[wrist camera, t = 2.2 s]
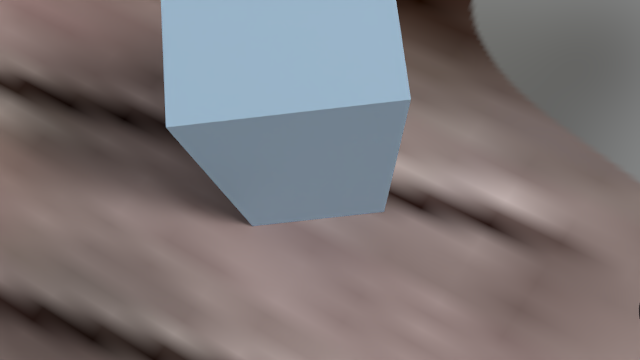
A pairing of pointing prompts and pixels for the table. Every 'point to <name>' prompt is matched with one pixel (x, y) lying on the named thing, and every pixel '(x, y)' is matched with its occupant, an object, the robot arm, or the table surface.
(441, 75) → the table surface
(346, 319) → the table surface
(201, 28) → the dusty blue block
